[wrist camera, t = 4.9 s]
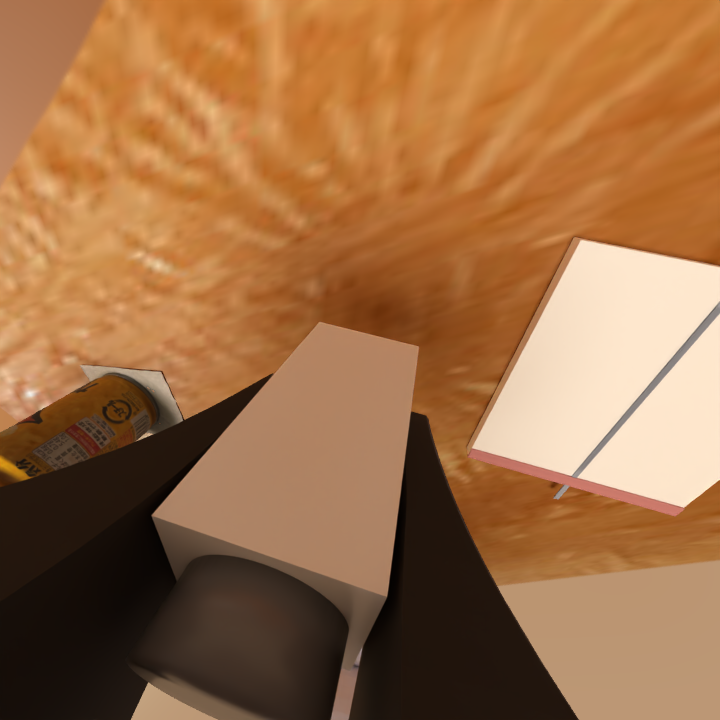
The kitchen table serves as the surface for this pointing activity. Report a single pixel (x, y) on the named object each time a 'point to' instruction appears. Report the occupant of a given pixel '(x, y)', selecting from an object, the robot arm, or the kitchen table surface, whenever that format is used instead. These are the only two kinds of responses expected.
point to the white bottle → (285, 535)
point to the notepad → (615, 380)
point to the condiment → (88, 422)
